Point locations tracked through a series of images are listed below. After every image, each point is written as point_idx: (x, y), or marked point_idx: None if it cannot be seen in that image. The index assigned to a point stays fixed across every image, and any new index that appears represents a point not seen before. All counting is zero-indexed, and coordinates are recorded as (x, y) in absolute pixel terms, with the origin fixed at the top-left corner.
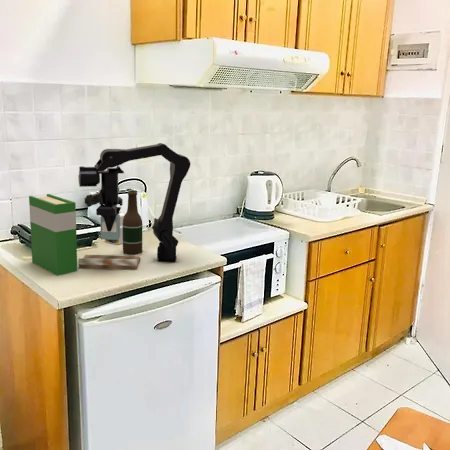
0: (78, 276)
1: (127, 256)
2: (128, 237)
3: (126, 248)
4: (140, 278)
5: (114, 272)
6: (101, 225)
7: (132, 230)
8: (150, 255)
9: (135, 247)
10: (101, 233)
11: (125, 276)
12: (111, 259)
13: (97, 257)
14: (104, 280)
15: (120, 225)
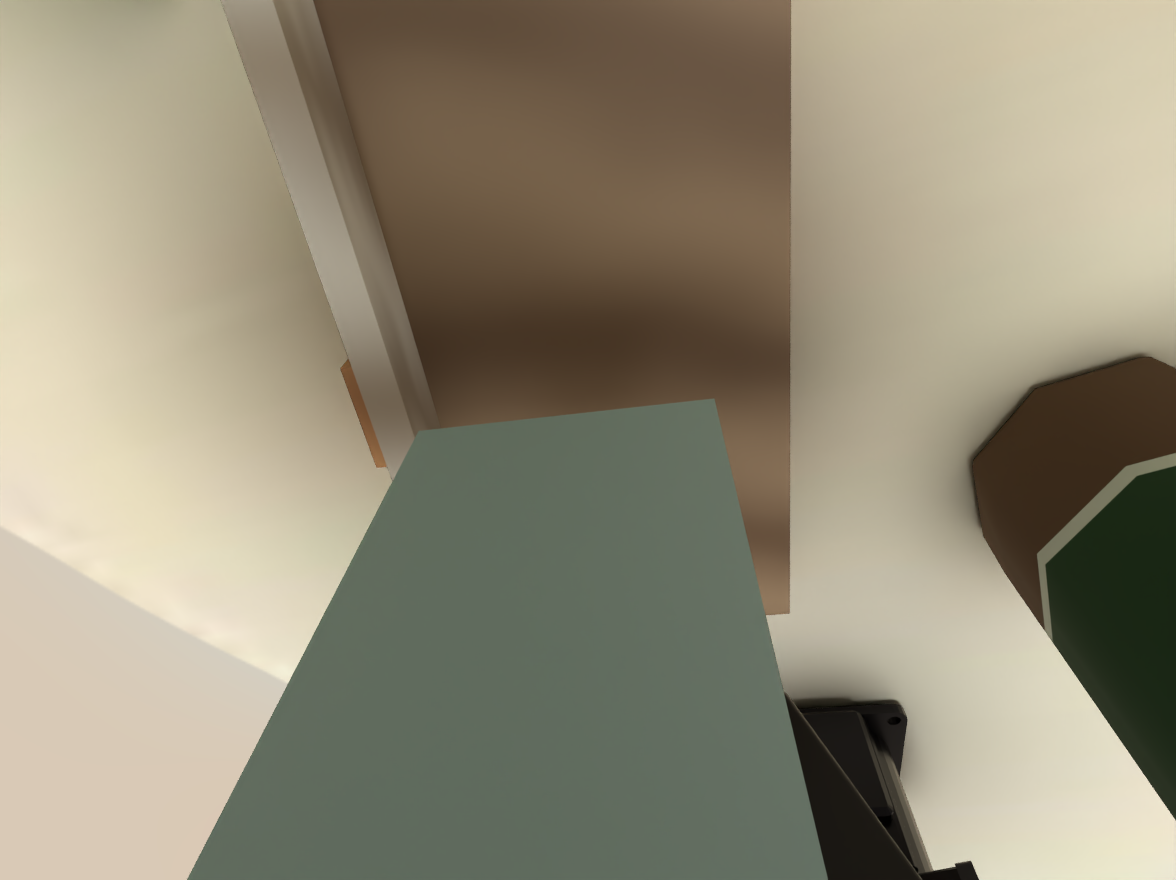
0: (23, 103)
1: (764, 508)
2: (1107, 608)
3: (1036, 463)
4: (297, 659)
5: (343, 451)
6: (284, 732)
7: (1172, 763)
8: (945, 634)
9: (1015, 573)
10: (378, 532)
11: (286, 559)
12: (394, 462)
13: (662, 155)
14: (94, 424)
15: None
